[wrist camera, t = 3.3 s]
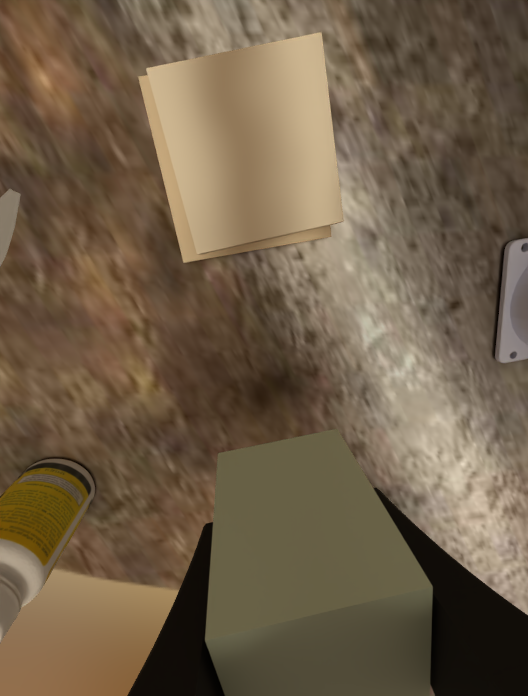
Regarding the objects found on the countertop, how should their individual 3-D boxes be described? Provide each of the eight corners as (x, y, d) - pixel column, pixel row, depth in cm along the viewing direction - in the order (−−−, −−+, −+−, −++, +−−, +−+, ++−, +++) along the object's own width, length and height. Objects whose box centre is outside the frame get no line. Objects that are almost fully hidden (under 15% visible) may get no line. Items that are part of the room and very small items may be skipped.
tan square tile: (309, 63, 13) (321, 32, 12) (330, 225, 16) (343, 221, 14) (158, 95, 13) (145, 68, 11) (201, 254, 15) (196, 254, 14)
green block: (337, 428, 11) (432, 586, 6) (346, 519, 12) (429, 712, 7) (217, 453, 11) (204, 640, 6) (240, 542, 12) (247, 758, 7)
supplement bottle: (21, 452, 19) (-130, 593, 11) (97, 458, 20) (6, 594, 12) (25, 510, 21) (-107, 672, 13) (96, 514, 21) (14, 669, 13)
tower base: (304, 76, 15) (314, 50, 13) (320, 238, 18) (331, 236, 16) (150, 99, 15) (138, 76, 13) (189, 261, 17) (183, 262, 15)
